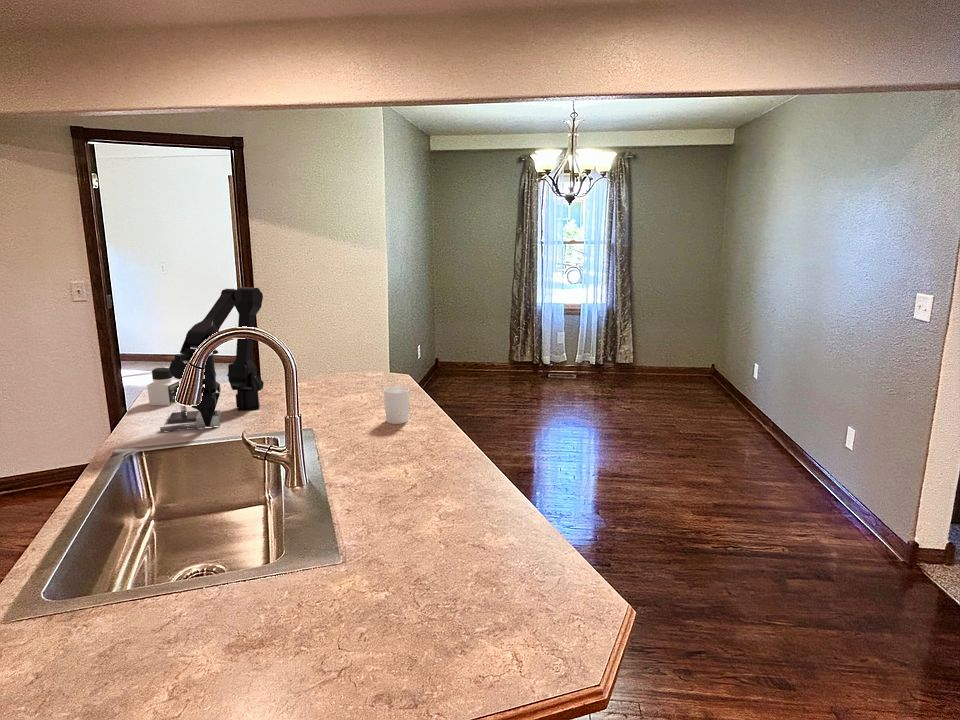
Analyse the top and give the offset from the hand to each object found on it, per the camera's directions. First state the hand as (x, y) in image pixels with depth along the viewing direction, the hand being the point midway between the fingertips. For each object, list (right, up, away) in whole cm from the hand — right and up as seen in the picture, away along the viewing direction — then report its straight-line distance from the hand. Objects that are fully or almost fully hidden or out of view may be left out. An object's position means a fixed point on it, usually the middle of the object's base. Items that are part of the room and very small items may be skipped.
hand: (209, 421), depth 180 cm
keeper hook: (-11, 0, +7) cm, 12 cm away
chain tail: (-7, -2, -3) cm, 8 cm away
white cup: (+56, 0, +6) cm, 56 cm away
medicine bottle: (-25, +4, +23) cm, 34 cm away
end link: (0, -1, 0) cm, 1 cm away
